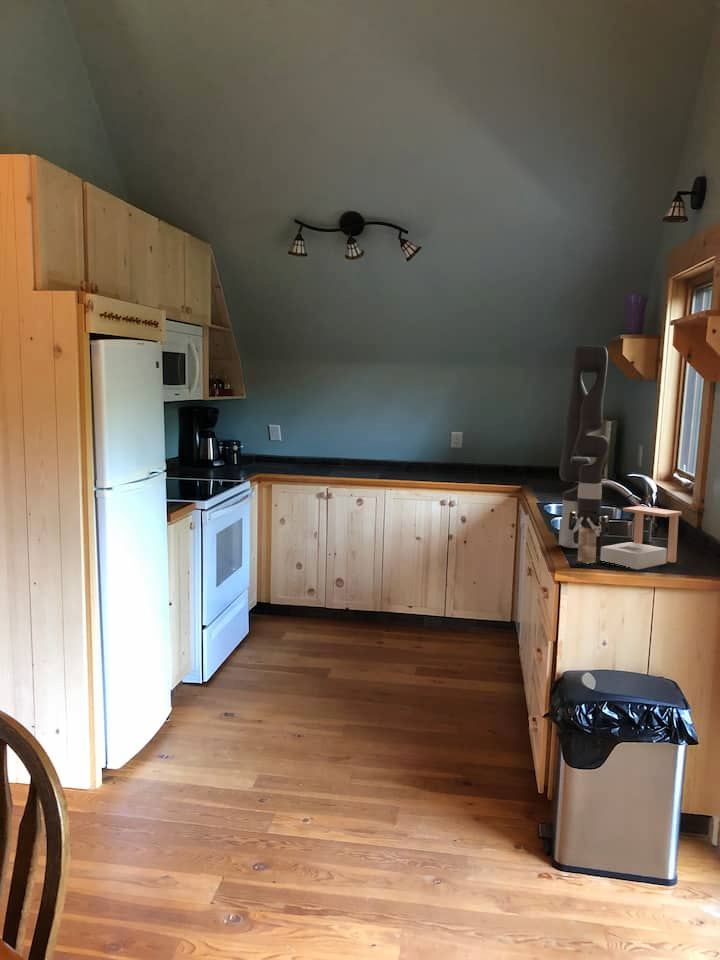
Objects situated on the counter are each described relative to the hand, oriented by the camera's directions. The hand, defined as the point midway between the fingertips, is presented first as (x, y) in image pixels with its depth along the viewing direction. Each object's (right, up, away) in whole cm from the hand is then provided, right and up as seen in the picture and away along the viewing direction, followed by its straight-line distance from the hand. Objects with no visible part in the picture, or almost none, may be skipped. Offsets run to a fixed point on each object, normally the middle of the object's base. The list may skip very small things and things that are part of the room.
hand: (587, 545), depth 242 cm
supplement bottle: (+33, -2, +40) cm, 52 cm away
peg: (0, -6, +1) cm, 6 cm away
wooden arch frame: (+23, -5, +8) cm, 25 cm away
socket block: (+16, -6, +3) cm, 17 cm away
